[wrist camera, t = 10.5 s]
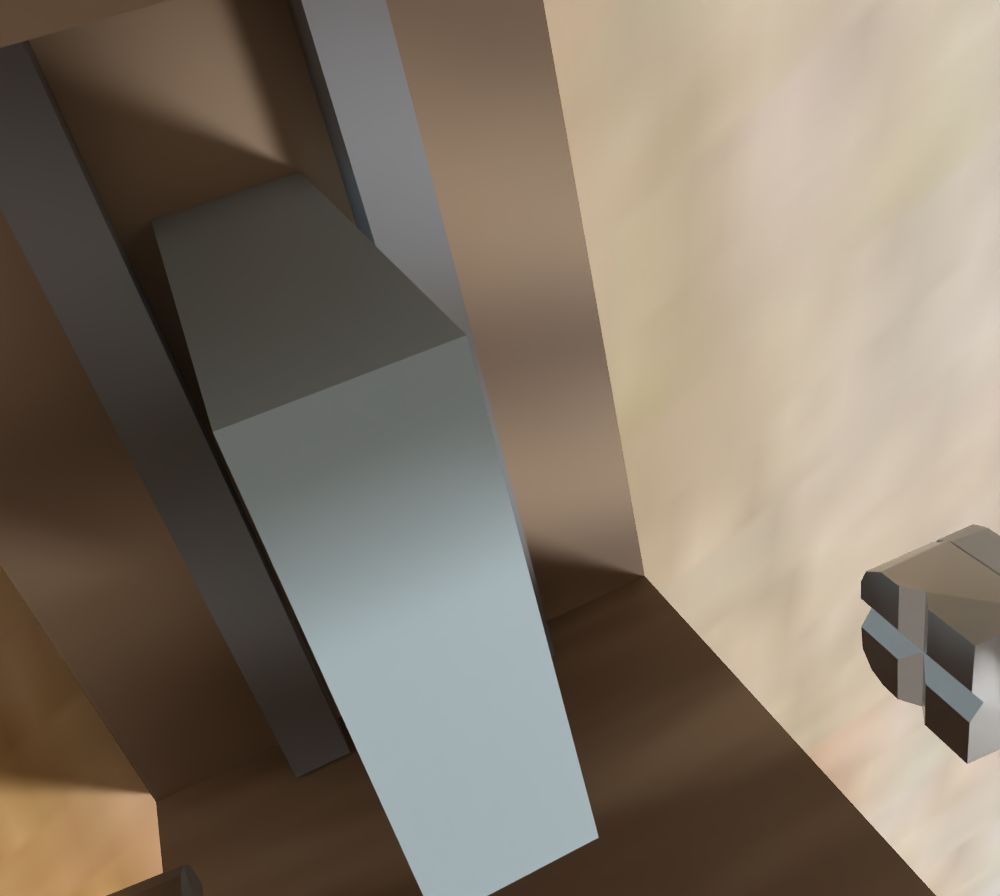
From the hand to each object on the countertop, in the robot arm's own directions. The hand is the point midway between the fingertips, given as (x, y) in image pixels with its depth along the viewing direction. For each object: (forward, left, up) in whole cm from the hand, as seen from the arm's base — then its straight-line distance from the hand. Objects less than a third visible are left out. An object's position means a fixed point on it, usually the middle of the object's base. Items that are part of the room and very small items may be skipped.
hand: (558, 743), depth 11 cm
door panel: (+1, +1, -9) cm, 9 cm away
